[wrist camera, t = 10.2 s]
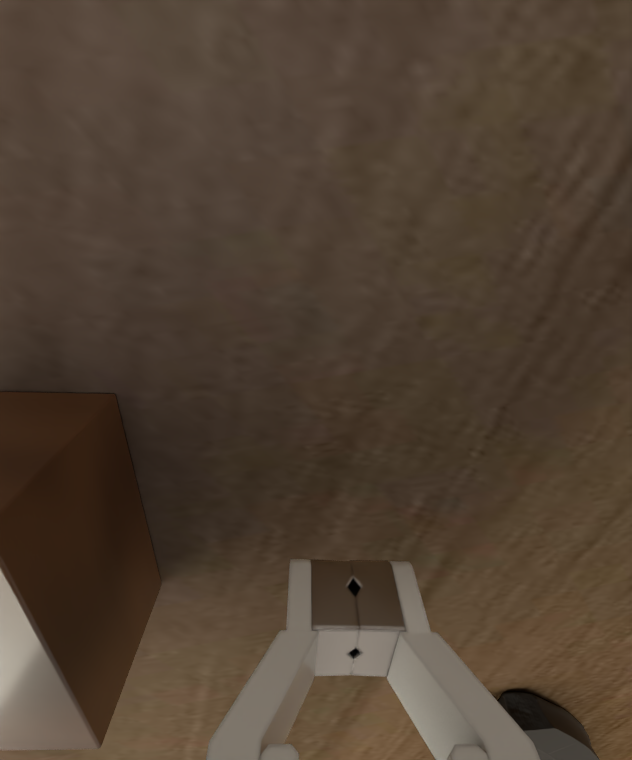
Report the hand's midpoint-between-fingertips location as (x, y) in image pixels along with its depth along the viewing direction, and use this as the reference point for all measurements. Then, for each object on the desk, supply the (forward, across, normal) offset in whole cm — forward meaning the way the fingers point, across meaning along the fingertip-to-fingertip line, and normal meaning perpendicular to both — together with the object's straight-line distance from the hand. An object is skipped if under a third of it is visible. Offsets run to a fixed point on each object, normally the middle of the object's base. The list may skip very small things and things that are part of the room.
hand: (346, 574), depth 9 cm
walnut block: (+3, +8, +1) cm, 9 cm away
